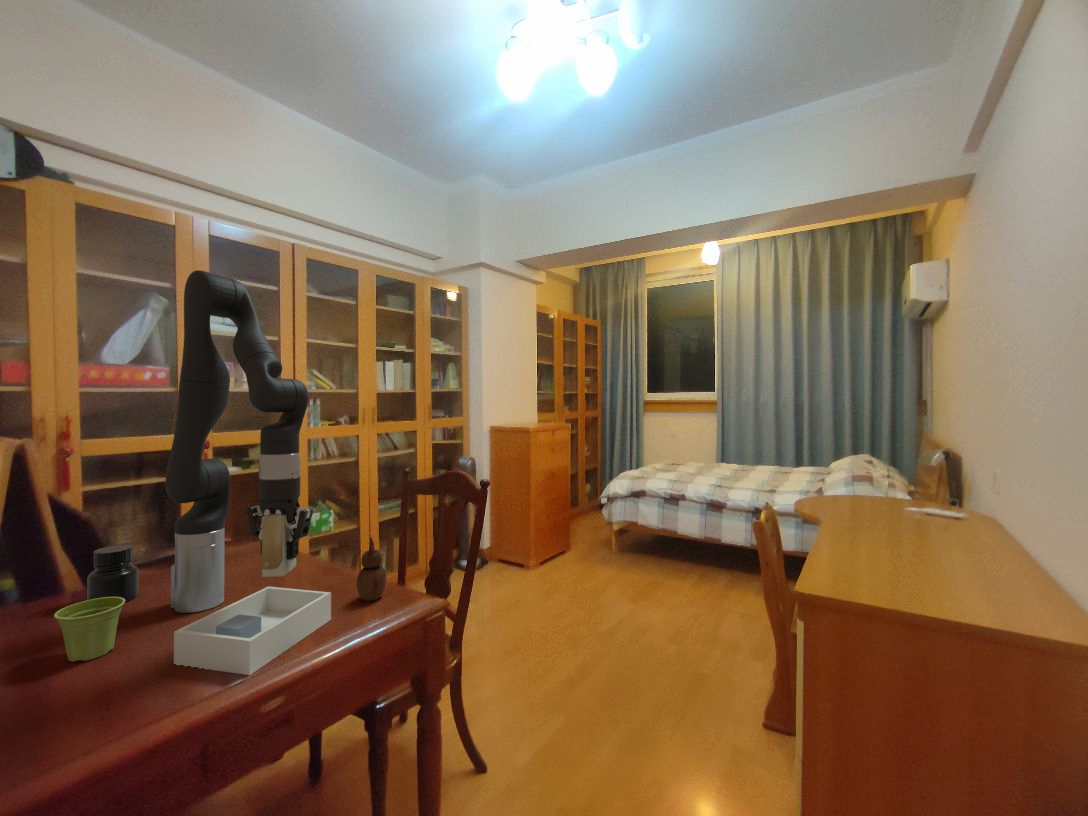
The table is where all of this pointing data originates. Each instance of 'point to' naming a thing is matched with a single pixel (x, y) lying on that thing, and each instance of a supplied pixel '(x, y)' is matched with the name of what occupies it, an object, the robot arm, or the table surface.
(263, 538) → the skincare box
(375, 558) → the wooden figurine
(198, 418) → the robot arm
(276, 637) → the tote
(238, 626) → the cube
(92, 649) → the plant pot
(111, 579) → the ink bottle
